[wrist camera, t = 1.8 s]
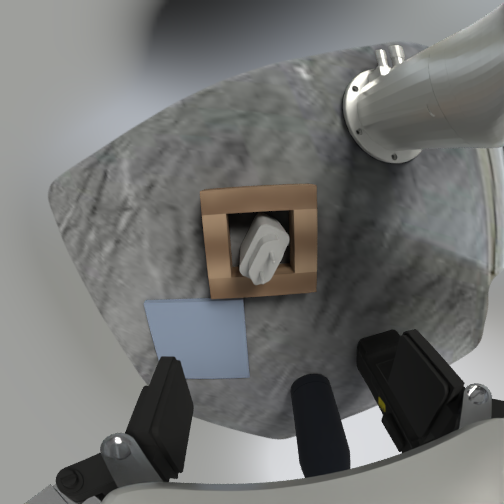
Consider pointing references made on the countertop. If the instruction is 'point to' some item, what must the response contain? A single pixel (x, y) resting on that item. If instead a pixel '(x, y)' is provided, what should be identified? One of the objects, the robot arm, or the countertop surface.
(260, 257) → the power adapter
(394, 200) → the countertop surface
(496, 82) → the robot arm
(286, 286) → the walnut collar
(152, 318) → the blue square plate
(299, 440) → the black water bottle
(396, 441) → the portable radio
